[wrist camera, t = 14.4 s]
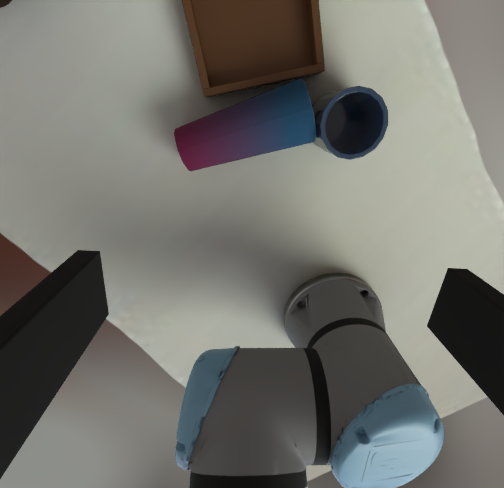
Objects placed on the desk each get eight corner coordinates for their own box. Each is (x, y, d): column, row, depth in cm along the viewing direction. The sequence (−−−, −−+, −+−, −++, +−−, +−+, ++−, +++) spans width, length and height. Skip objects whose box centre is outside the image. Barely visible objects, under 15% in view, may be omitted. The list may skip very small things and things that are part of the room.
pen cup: (365, 144, 39) (388, 151, 33) (311, 156, 40) (324, 165, 33) (361, 84, 37) (387, 79, 30) (304, 98, 37) (317, 95, 31)
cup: (180, 122, 38) (297, 84, 37) (198, 175, 40) (309, 141, 39) (164, 118, 32) (304, 71, 30) (186, 181, 34) (319, 141, 32)
